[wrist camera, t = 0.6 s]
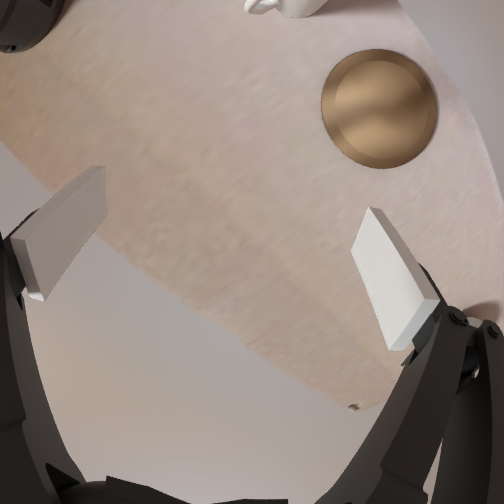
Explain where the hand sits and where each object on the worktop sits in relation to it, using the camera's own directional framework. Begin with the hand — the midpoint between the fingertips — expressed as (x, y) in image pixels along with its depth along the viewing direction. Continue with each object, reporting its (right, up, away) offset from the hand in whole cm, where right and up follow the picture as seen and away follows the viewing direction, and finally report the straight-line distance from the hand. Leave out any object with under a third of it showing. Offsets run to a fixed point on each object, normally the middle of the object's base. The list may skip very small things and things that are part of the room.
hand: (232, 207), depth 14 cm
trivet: (+17, +16, +18) cm, 30 cm away
